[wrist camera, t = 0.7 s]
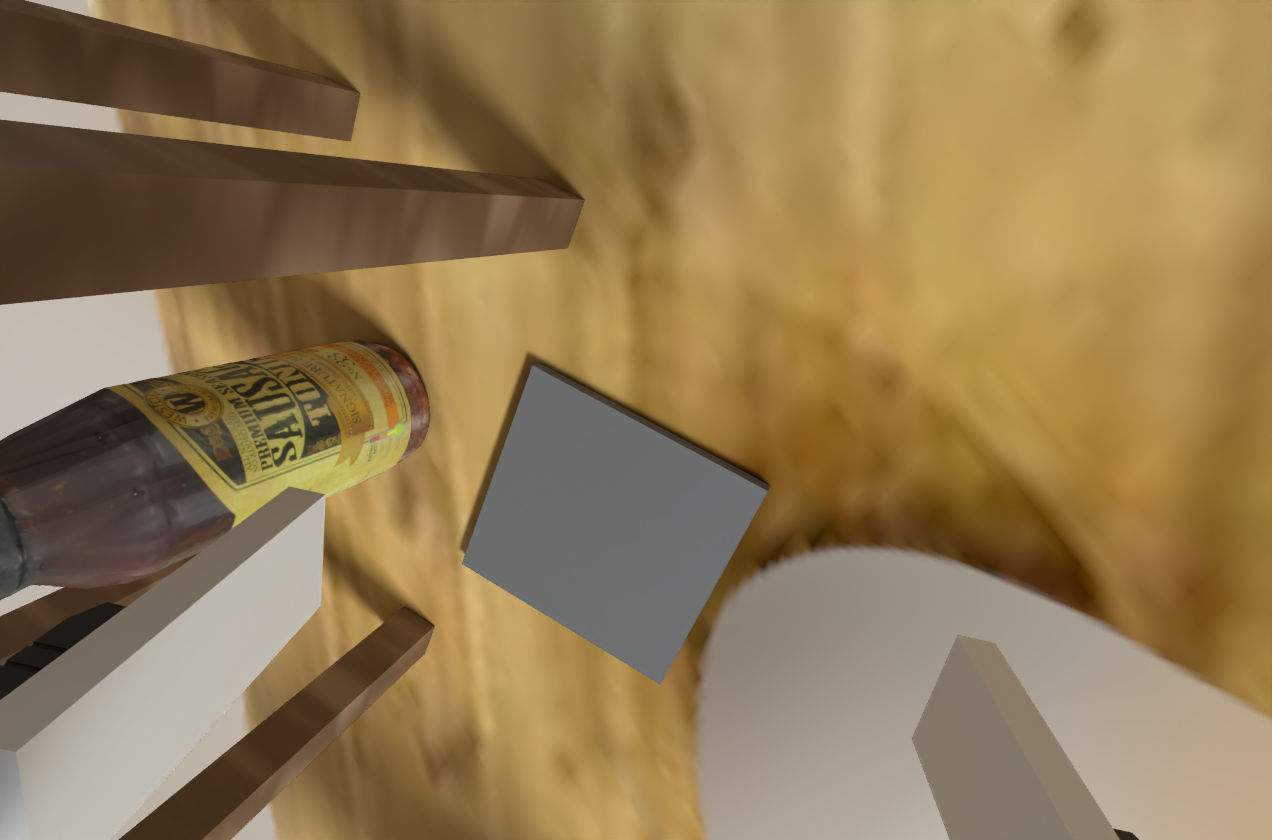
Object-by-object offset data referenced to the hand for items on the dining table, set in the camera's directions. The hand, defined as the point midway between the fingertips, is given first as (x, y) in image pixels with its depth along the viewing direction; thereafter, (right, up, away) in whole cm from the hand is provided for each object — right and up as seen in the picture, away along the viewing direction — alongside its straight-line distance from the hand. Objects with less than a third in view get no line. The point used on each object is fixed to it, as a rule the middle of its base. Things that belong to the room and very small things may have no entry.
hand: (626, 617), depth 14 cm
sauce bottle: (-12, +5, +19) cm, 23 cm away
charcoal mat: (-1, -1, +16) cm, 16 cm away
